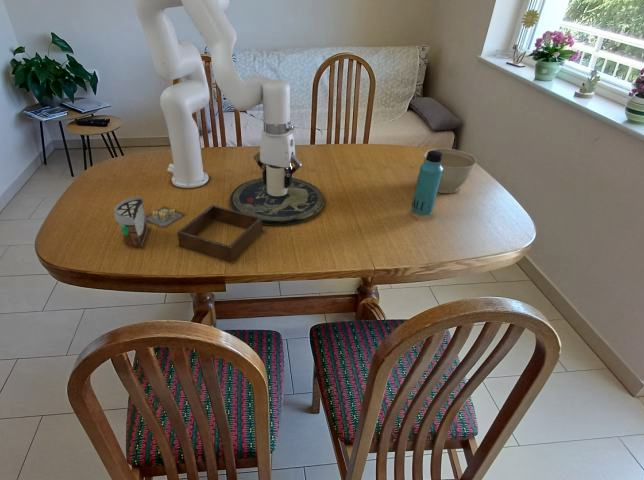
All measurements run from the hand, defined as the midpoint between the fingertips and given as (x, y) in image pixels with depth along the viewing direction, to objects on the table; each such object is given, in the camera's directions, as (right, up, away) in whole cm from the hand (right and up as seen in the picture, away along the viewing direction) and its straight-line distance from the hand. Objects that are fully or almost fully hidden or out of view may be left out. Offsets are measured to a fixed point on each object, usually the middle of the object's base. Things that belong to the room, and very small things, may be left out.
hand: (277, 183), depth 127 cm
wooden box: (-15, -18, -14) cm, 27 cm away
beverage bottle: (+44, -10, -3) cm, 45 cm away
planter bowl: (+56, +1, +12) cm, 57 cm away
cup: (0, -2, +2) cm, 3 cm away
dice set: (-34, -11, -4) cm, 36 cm away
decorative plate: (0, -5, +4) cm, 6 cm away
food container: (-40, -18, -14) cm, 46 cm away
